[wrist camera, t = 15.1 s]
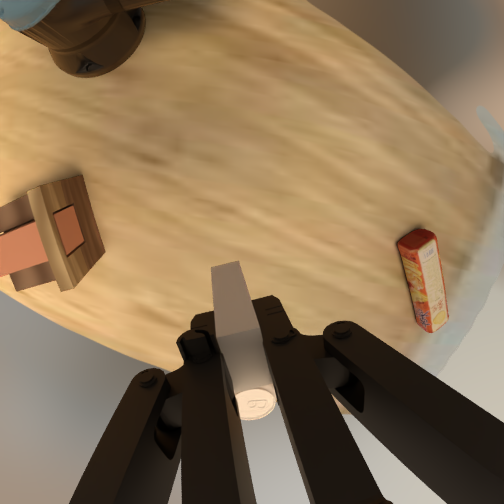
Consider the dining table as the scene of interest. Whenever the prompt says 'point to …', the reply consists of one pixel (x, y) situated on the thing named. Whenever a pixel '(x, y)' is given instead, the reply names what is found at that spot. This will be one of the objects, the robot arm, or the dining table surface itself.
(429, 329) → the snack package
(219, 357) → the robot arm
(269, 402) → the beverage can
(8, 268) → the peg
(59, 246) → the guide block
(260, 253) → the dining table surface
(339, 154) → the dining table surface
